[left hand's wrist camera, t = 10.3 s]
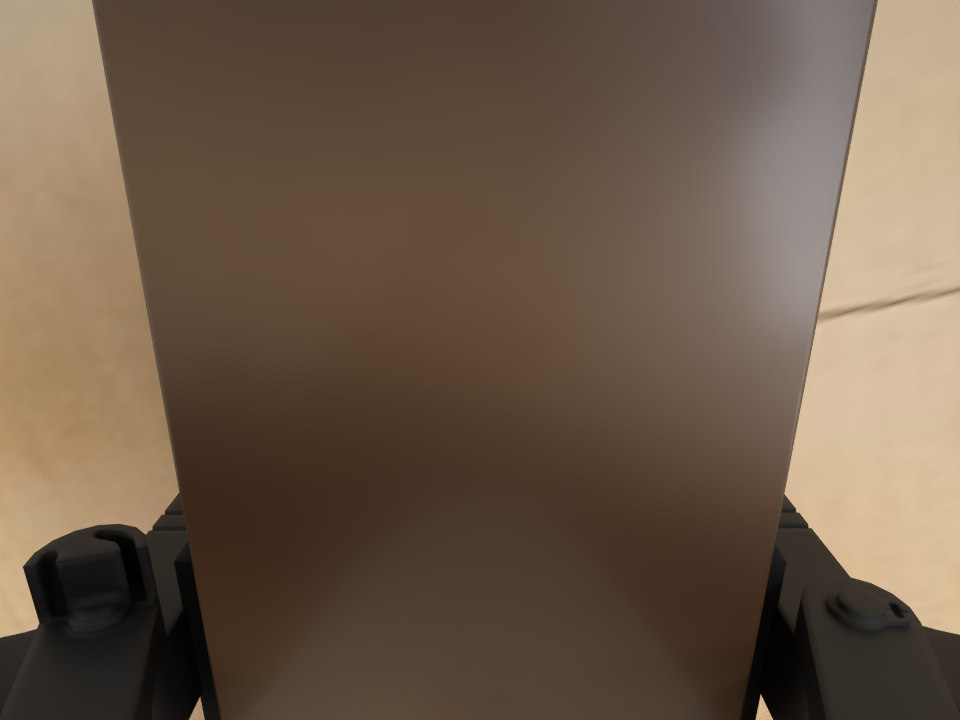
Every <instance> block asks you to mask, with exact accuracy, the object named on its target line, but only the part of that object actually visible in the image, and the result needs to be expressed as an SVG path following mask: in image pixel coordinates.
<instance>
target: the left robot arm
mask: <svg viewBox="0 0 960 720" xmlns="http://www.w3.org/2000/svg"><path fill="white" fill-rule="evenodd" d="M23 569H24V572H25V575H26V579H27V582H28V586H29V589H30V592H31V596H32V599H33V602H34V606H35V609H36V613H37V616H38V619H39V626H38V628H37V629H35V630H32V631H28V632H25V633H20V634H16V635H11V636H6V637H2V638H0V720H189V718H190V716H191V714H192V712H193V710H194V708H195V706H196V704H197V702H198V699H199V697H201V702H202V707H203V712H204V717H205V720H220V716H219V711H218V705H217V699H216V694H215V688H214V683H213V677H212V671H211V666H210V660H209V654H208V649H207V643H206V638H205V632H204V626H203V621H202V615H201V609H200V604H199V598H198V593H197V587H196V581H195V576H194V570H193V565H192V559H191V553H190V548H189V542H188V536H187V531H186V525H185V520H184V514H183V508H182V503H181V497H180V493H179V494H178V495H177V496H176V498H175V499H174V500H173V502H172V503H171V504H170V505H169V507H168V508H167V509H166V510H165V515H161V517H160V518H159V519H158V521H157V522H156V523H155V524H154V526H153V530H152V531H149V532H148V533H147V534H146V535H145V534H144V533H143V532H141V531H140V530H139V529H137V528H136V527H132V526H127V525H122V524H110V525H97V526H93V527H89V528H85V529H81V530H77V531H74V532H72V533H69V534H67V535H65V536H62V537H60V538H58V539H56V540H53V541H52V542H50V543H49V544H47V545H46V546H44V547H43V548H41V549H40V550H38V551H37V552H35V553H34V554H33V555H32V557H31V558H30V559H29V560H28V561H27V563H26V564H25V565H24V566H23ZM760 694H761V695H762V697H763V699H764V701H765V704H766V706H767V708H768V710H769V712H770V714H771V716H772V718H773V720H960V635H958V634H953V633H948V632H944V631H939V630H935V629H932V628H928V627H924V626H922V625H921V622H920V621H919V619H918V618H917V617H916V615H915V614H914V612H913V611H912V610H911V608H910V607H909V606H907V605H906V604H905V603H904V602H902V601H901V600H900V599H898V598H897V597H896V596H895V595H893V594H892V593H890V592H888V591H886V590H884V589H882V588H880V587H878V586H876V585H874V584H872V583H868V582H865V581H861V580H857V579H854V578H851V577H850V576H849V575H848V574H847V572H846V571H845V570H844V569H843V567H842V566H841V565H840V564H839V562H838V561H837V560H836V559H835V557H834V556H833V555H832V554H831V552H830V551H829V550H828V549H827V547H826V546H825V545H824V544H823V542H822V541H821V540H820V539H819V537H818V536H817V535H816V533H815V532H814V531H813V530H812V528H808V523H807V522H806V521H805V520H804V518H803V517H802V516H801V515H800V513H796V508H795V507H794V506H793V505H792V503H791V502H790V501H789V500H788V498H787V497H786V496H785V494H784V497H783V503H782V508H781V513H780V518H779V524H778V529H777V534H776V540H775V545H774V550H773V555H772V561H771V566H770V571H769V577H768V582H767V587H766V592H765V598H764V603H763V608H762V614H761V619H760V624H759V629H758V635H757V640H756V645H755V650H754V656H753V661H752V666H751V672H750V677H749V682H748V687H747V693H746V698H745V703H744V709H743V714H742V719H741V720H756V715H757V710H758V704H759V699H760Z"/></svg>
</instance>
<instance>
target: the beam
mask: <svg viewBox="0 0 960 720" xmlns="http://www.w3.org/2000/svg"><path fill="white" fill-rule="evenodd" d="M877 1H878V0H92V3H93V8H94V14H95V20H96V25H97V31H98V36H99V42H100V48H101V53H102V59H103V64H104V70H105V76H106V81H107V87H108V93H109V98H110V104H111V109H112V115H113V121H114V126H115V132H116V138H117V143H118V149H119V154H120V160H121V166H122V171H123V177H124V182H125V188H126V194H127V199H128V205H129V211H130V216H131V222H132V227H133V233H134V239H135V244H136V250H137V256H138V261H139V267H140V272H141V278H142V284H143V289H144V295H145V300H146V306H147V312H148V317H149V323H150V329H151V334H152V340H153V345H154V351H155V357H156V362H157V368H158V374H159V379H160V385H161V390H162V396H163V402H164V407H165V413H166V418H167V424H168V430H169V435H170V441H171V447H172V452H173V458H174V463H175V469H176V475H177V480H178V486H179V492H180V497H181V503H182V508H183V514H184V520H185V525H186V531H187V536H188V542H189V548H190V553H191V559H192V565H193V570H194V576H195V581H196V587H197V593H198V598H199V604H200V609H201V615H202V621H203V626H204V632H205V638H206V643H207V649H208V654H209V660H210V666H211V671H212V677H213V683H214V688H215V694H216V699H217V705H218V711H219V716H220V720H741V719H742V714H743V709H744V703H745V698H746V693H747V687H748V682H749V677H750V672H751V666H752V661H753V656H754V650H755V645H756V640H757V635H758V629H759V624H760V619H761V614H762V608H763V603H764V598H765V592H766V587H767V582H768V577H769V571H770V566H771V561H772V555H773V550H774V545H775V540H776V534H777V529H778V524H779V518H780V513H781V508H782V503H783V497H784V492H785V487H786V482H787V476H788V471H789V466H790V460H791V455H792V450H793V445H794V439H795V434H796V429H797V423H798V418H799V413H800V408H801V402H802V397H803V392H804V386H805V381H806V376H807V371H808V365H809V360H810V355H811V350H812V344H813V339H814V334H815V328H816V323H817V318H818V313H819V307H820V302H821V297H822V291H823V286H824V281H825V276H826V270H827V265H828V260H829V254H830V249H831V244H832V239H833V233H834V228H835V223H836V218H837V212H838V207H839V202H840V196H841V191H842V186H843V181H844V175H845V170H846V165H847V159H848V154H849V149H850V144H851V138H852V133H853V128H854V122H855V117H856V112H857V107H858V101H859V96H860V91H861V86H862V80H863V75H864V70H865V64H866V59H867V54H868V49H869V43H870V38H871V33H872V27H873V22H874V17H875V12H876V6H877Z"/></svg>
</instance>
